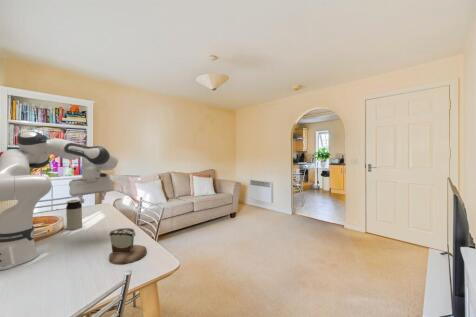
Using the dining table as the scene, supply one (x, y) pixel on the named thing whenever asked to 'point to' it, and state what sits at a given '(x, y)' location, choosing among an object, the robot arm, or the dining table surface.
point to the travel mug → (74, 214)
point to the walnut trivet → (128, 255)
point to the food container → (122, 240)
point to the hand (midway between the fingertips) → (92, 201)
